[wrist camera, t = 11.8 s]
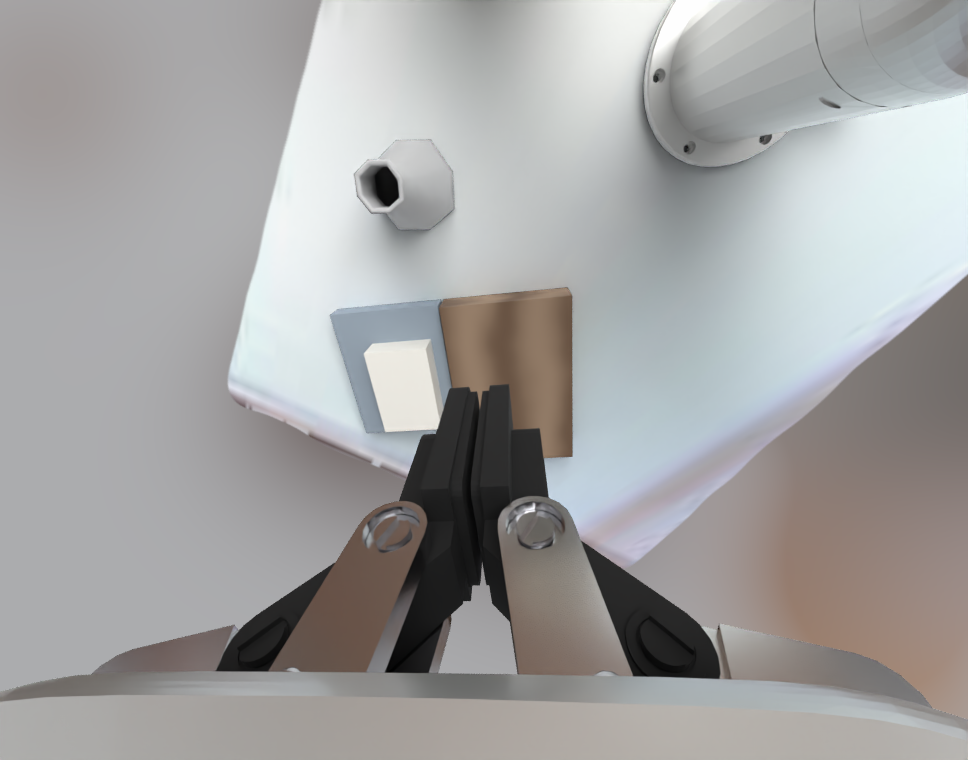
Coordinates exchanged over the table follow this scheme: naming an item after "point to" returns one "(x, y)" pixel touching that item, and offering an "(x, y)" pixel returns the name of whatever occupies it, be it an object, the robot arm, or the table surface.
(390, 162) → the flask
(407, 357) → the tile
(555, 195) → the table surface
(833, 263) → the table surface
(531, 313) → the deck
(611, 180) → the table surface
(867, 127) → the table surface
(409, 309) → the mat
